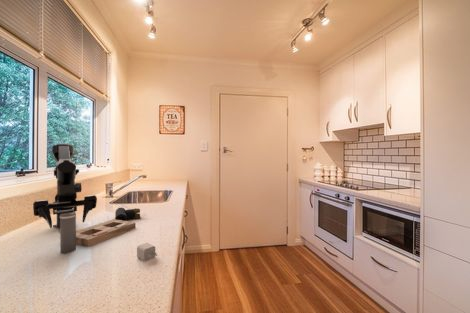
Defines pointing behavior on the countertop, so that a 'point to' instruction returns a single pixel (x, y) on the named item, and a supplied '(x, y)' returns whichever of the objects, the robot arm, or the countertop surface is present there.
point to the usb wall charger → (146, 252)
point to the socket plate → (102, 231)
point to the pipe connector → (127, 214)
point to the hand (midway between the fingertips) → (67, 224)
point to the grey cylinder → (68, 232)
